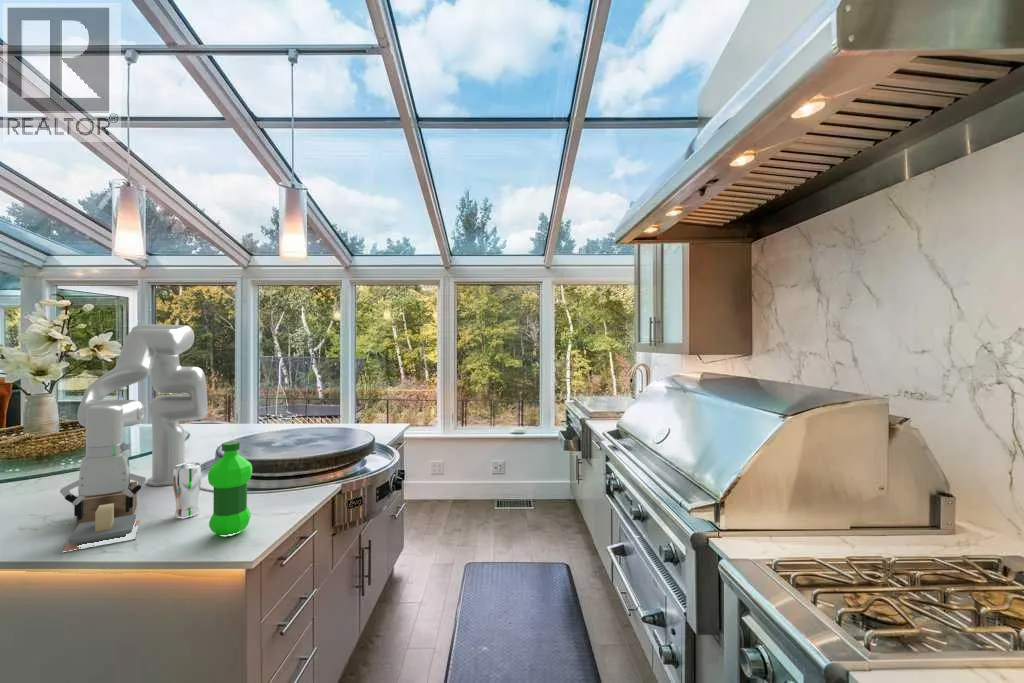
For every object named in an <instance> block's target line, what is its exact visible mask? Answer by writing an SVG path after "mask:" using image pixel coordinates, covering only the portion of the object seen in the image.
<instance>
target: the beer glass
mask: <svg viewBox="0 0 1024 683" xmlns="http://www.w3.org/2000/svg"><path fill="white" fill-rule="evenodd" d="M201 484H202V469H201V463H199V462H185V464H180V465H177V466H175V467H174V472H173V484H172V488H173V493H174V498H175V499H174V500H175V505H176V506H175V513H174V516H175V517H186V516H190V515H193V514H195V513H197V512H199V513H200V509H199V505H198V504H199V503H198V501H199V500H198V499H199V495H200V490H201ZM175 517H174V518H175Z"/></svg>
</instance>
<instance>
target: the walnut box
mask: <svg viewBox="0 0 1024 683" xmlns="http://www.w3.org/2000/svg"><path fill="white" fill-rule="evenodd" d="M137 484H138V482H137V481H130V484H129V485H128V486H129V487H130V488H132V489H133V488H134V487H135V486H136V485H137ZM126 496H127V495H126V494H124V493H123V492H116V493H109V494H102V495H95V496H85V498H84V499H83V500H82V501H83V517H82V519H80V520H77V519H76V527H77V526H78V525H79V523H85V522H91V521H95V512H96V511H97V509H98V507H99V505H106V504H112V503H114V518H116V517H122V516H128V515H134V513H135V514H136V511H137V508H136V507H138V492H137V493H136V494H134V496H133V507H132V508H130V511H129V512H126ZM135 510H136V511H135Z"/></svg>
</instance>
